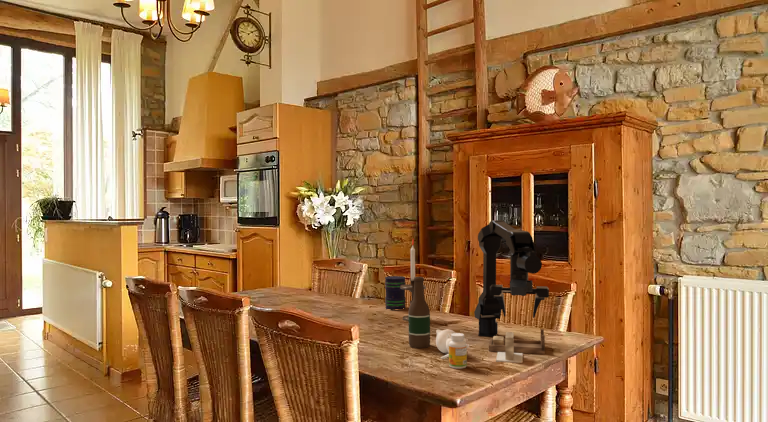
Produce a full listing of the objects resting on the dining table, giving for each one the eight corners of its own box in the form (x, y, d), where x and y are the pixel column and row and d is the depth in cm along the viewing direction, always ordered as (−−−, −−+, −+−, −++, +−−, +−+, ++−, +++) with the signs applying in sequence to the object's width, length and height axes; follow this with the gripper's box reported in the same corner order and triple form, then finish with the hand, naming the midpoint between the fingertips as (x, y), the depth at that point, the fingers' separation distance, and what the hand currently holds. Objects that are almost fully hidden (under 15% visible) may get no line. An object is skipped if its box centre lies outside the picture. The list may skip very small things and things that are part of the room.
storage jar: (383, 310, 259) (383, 278, 259) (386, 306, 269) (386, 275, 269) (404, 310, 258) (404, 278, 258) (407, 306, 267) (406, 276, 267)
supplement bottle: (447, 364, 169) (447, 332, 169) (464, 363, 170) (464, 332, 170) (450, 369, 164) (450, 336, 164) (468, 368, 164) (468, 336, 164)
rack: (488, 351, 184) (488, 333, 184) (490, 343, 194) (490, 326, 194) (544, 354, 180) (544, 335, 180) (543, 346, 189) (543, 329, 189)
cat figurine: (464, 329, 175) (443, 321, 186) (440, 350, 171) (420, 340, 182) (475, 350, 178) (454, 341, 188) (452, 371, 174) (432, 361, 184)
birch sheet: (505, 359, 172) (505, 337, 172) (506, 353, 180) (506, 331, 180) (513, 360, 171) (513, 337, 171) (513, 353, 179) (513, 332, 179)
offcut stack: (492, 347, 185) (492, 340, 185) (493, 342, 192) (493, 335, 192) (503, 347, 184) (503, 340, 184) (504, 342, 191) (504, 335, 191)
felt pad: (496, 361, 172) (496, 360, 172) (497, 353, 181) (497, 351, 181) (522, 362, 170) (522, 361, 170) (522, 354, 179) (522, 353, 179)
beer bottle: (432, 343, 194) (432, 276, 194) (427, 349, 187) (426, 278, 187) (411, 342, 197) (411, 275, 197) (405, 347, 190) (404, 278, 189)
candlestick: (409, 315, 245) (409, 237, 245) (430, 318, 239) (429, 238, 238) (395, 320, 236) (395, 238, 236) (417, 323, 230) (416, 239, 230)
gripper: (488, 272, 175) (488, 320, 175) (549, 273, 170) (549, 324, 170) (491, 267, 186) (491, 313, 186) (548, 269, 181) (548, 316, 181)
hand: (519, 317), depth 180 cm, fingers open, 9 cm apart
